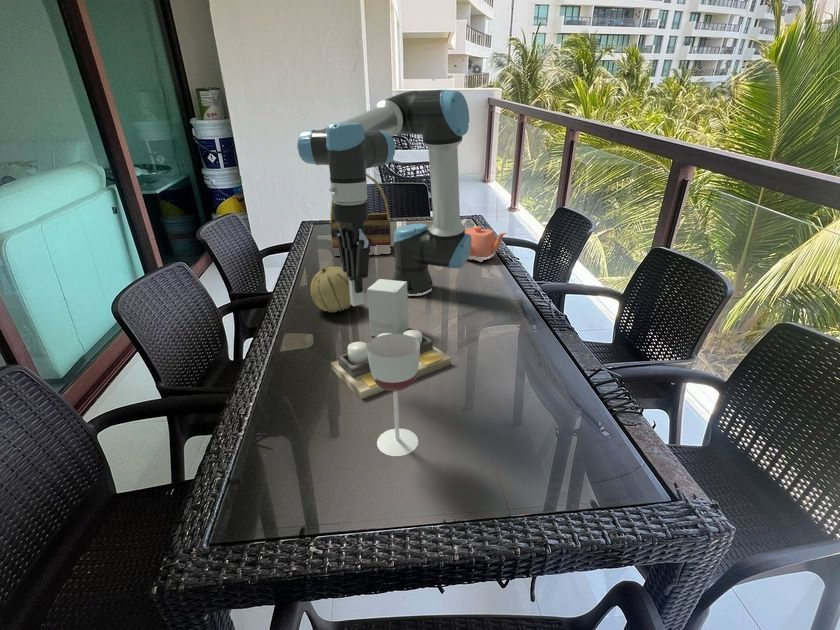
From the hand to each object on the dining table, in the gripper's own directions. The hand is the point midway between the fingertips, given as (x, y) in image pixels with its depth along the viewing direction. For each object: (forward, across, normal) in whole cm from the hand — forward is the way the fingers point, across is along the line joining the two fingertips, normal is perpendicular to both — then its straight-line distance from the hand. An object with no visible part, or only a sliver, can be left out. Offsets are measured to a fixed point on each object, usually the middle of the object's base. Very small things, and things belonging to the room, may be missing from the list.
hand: (357, 303), depth 108 cm
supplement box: (+19, -15, +18) cm, 30 cm away
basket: (+18, -91, +50) cm, 106 cm away
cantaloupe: (+19, -39, +12) cm, 45 cm away
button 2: (+15, 0, +8) cm, 17 cm away
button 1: (+15, 0, 0) cm, 15 cm away
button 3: (+16, 0, +16) cm, 22 cm away
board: (+19, +2, +8) cm, 20 cm away
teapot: (+18, -51, +84) cm, 100 cm away
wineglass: (+19, +27, -7) cm, 34 cm away
